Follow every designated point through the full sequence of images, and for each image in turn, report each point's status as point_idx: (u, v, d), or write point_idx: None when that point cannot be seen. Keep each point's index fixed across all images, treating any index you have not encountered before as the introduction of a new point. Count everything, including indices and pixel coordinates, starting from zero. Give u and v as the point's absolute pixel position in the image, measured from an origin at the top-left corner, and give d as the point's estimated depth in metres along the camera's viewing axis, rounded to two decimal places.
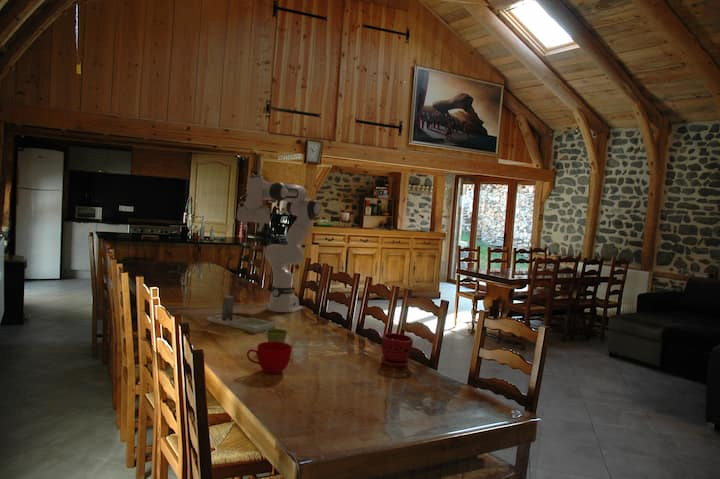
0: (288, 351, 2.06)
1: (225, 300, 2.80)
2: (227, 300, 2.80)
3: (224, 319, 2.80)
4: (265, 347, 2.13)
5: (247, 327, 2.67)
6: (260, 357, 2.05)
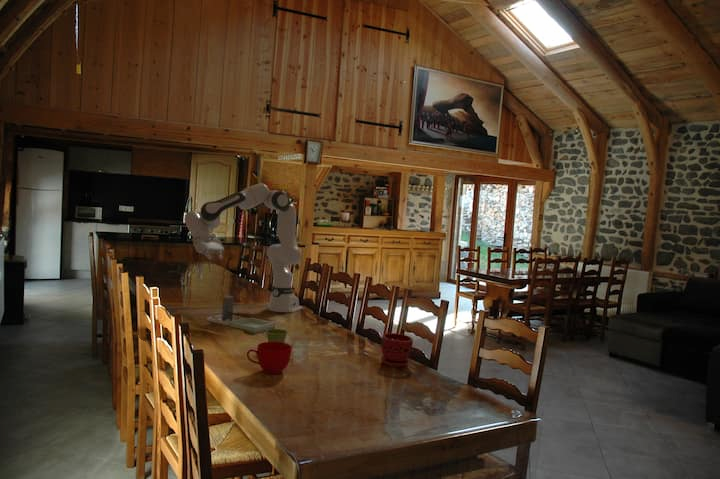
0: (288, 351, 2.06)
1: (225, 300, 2.80)
2: (227, 300, 2.80)
3: (224, 319, 2.80)
4: (265, 347, 2.13)
5: (247, 327, 2.67)
6: (260, 357, 2.05)
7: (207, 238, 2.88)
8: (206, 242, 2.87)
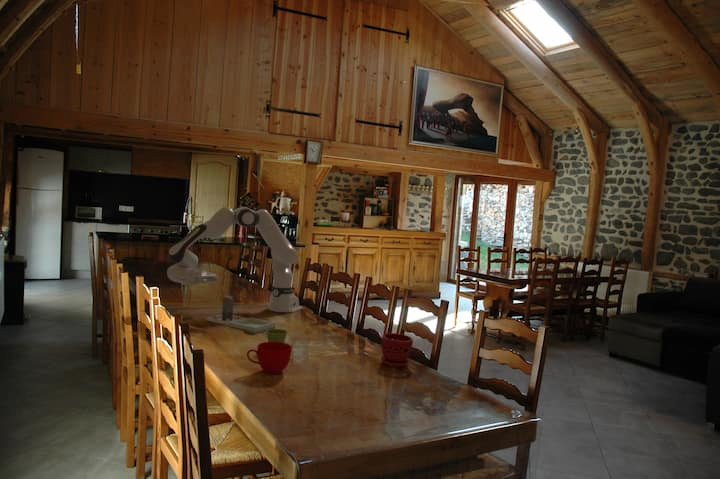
0: (288, 351, 2.06)
1: (225, 300, 2.80)
2: (227, 300, 2.80)
3: (224, 319, 2.80)
4: (265, 347, 2.13)
5: (247, 327, 2.67)
6: (260, 357, 2.05)
7: (193, 272, 2.91)
8: (194, 275, 2.89)
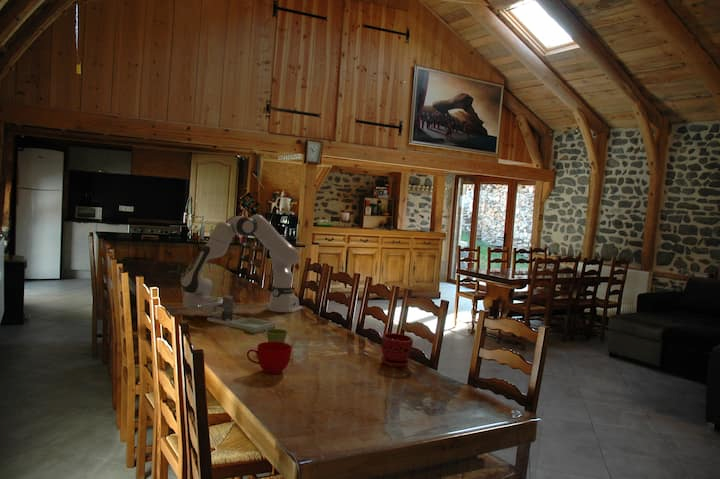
0: (288, 351, 2.06)
1: (225, 300, 2.80)
2: (227, 300, 2.80)
3: (224, 319, 2.80)
4: (265, 347, 2.13)
5: (247, 327, 2.67)
6: (260, 357, 2.05)
7: (210, 300, 2.86)
8: (211, 303, 2.84)
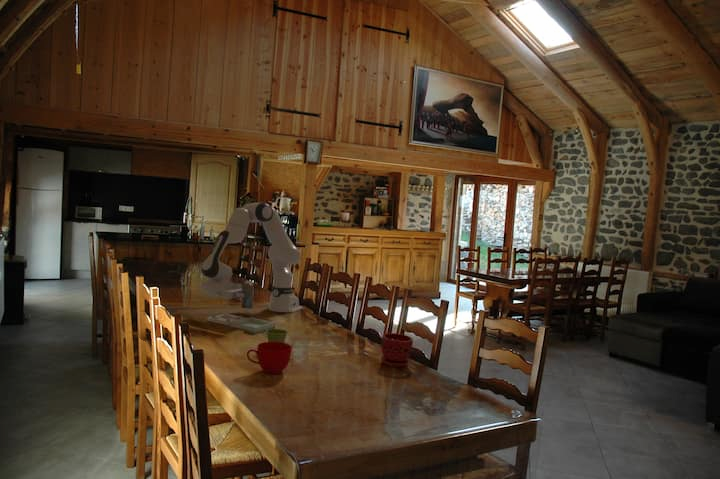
0: (288, 351, 2.06)
1: (245, 286, 2.73)
2: (247, 286, 2.73)
3: (244, 305, 2.74)
4: (265, 347, 2.13)
5: (247, 327, 2.67)
6: (260, 357, 2.05)
7: (230, 286, 2.80)
8: (231, 289, 2.78)
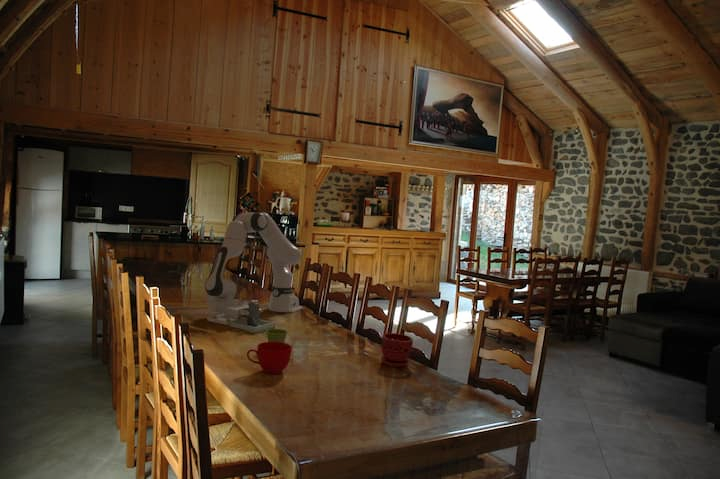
0: (288, 351, 2.06)
1: (251, 305, 2.72)
2: (253, 305, 2.72)
3: (250, 325, 2.73)
4: (265, 347, 2.13)
5: (247, 327, 2.67)
6: (260, 357, 2.05)
7: (235, 303, 2.78)
8: (237, 306, 2.76)
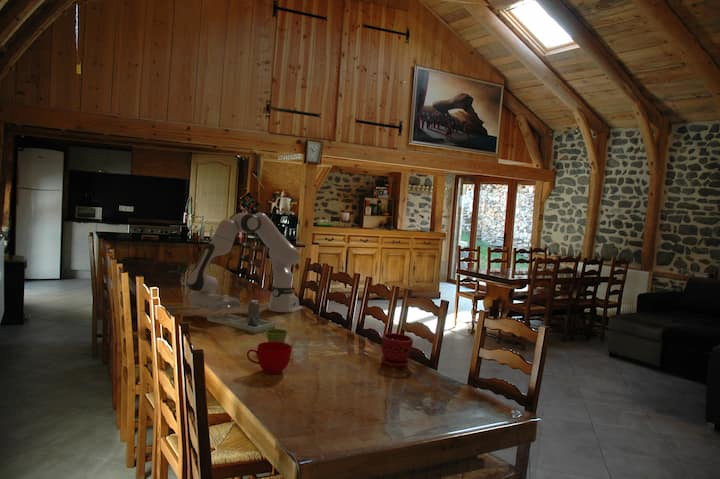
0: (288, 351, 2.06)
1: (251, 305, 2.72)
2: (253, 305, 2.72)
3: (250, 325, 2.73)
4: (265, 347, 2.13)
5: (247, 327, 2.67)
6: (260, 357, 2.05)
7: (216, 298, 2.84)
8: (217, 301, 2.83)
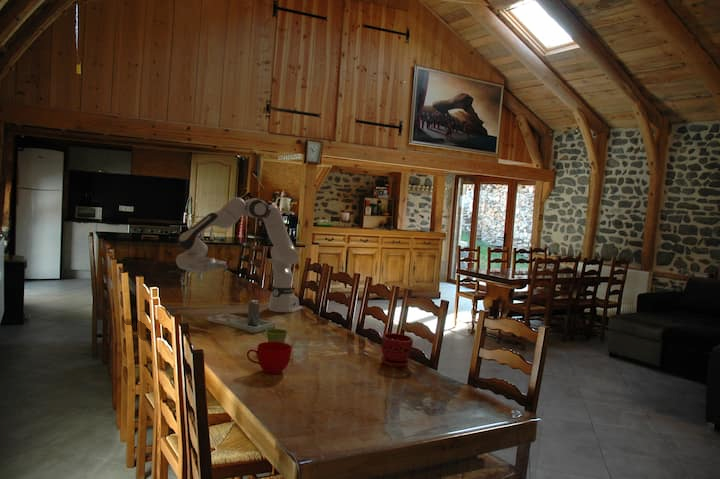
0: (288, 351, 2.06)
1: (251, 305, 2.72)
2: (253, 305, 2.72)
3: (250, 325, 2.73)
4: (265, 347, 2.13)
5: (247, 327, 2.67)
6: (260, 357, 2.05)
7: (202, 260, 2.89)
8: (204, 262, 2.88)
